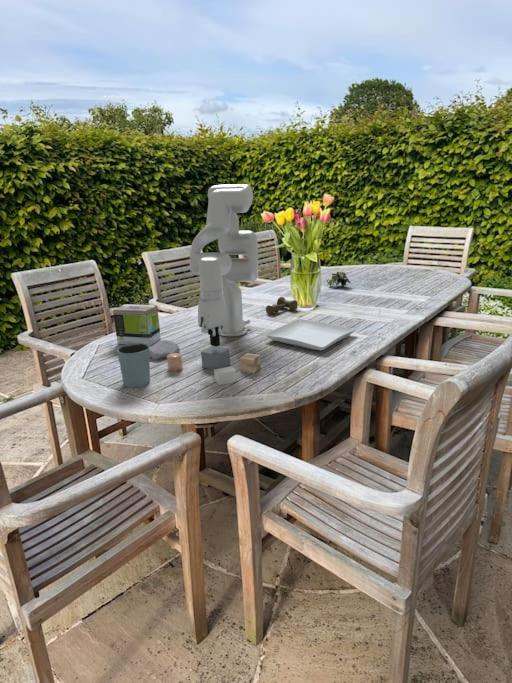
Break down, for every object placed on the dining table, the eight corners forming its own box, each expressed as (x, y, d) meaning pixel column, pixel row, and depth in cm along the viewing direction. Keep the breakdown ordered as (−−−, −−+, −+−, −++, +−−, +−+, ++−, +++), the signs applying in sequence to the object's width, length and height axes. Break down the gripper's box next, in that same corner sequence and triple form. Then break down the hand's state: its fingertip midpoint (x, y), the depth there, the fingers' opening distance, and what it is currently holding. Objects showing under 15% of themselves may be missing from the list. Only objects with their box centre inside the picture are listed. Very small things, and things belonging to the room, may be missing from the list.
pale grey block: (231, 377, 154) (231, 366, 152) (236, 381, 150) (235, 370, 149) (214, 380, 151) (214, 369, 150) (218, 385, 148) (218, 373, 147)
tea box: (161, 338, 193) (158, 304, 188) (150, 347, 184) (146, 311, 179) (129, 336, 197) (125, 302, 192) (116, 344, 187) (111, 309, 183)
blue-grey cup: (115, 387, 148) (111, 352, 144) (129, 375, 157) (125, 341, 153) (145, 389, 146) (141, 354, 142) (157, 376, 155) (154, 343, 151)
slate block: (214, 360, 168) (213, 345, 166) (230, 364, 164) (229, 348, 162) (202, 367, 162) (201, 351, 160) (218, 371, 159) (217, 355, 157)
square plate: (323, 356, 170) (323, 346, 169) (263, 342, 186) (263, 333, 185) (355, 336, 190) (356, 327, 189) (299, 325, 206) (299, 317, 205)
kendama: (261, 314, 225) (288, 305, 238) (276, 318, 219) (302, 308, 232) (261, 302, 223) (288, 293, 236) (276, 306, 216) (303, 297, 230)
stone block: (182, 356, 178) (165, 346, 183) (183, 345, 175) (165, 336, 181) (158, 367, 169) (141, 356, 174) (158, 356, 167) (141, 345, 172)
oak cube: (247, 366, 162) (247, 352, 161) (260, 368, 160) (259, 355, 158) (240, 371, 158) (240, 357, 156) (253, 373, 156) (253, 359, 154)
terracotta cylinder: (176, 365, 165) (175, 352, 163) (185, 368, 162) (184, 355, 160) (165, 369, 161) (163, 356, 160) (174, 372, 158) (173, 359, 156)
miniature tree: (342, 295, 277) (354, 279, 272) (334, 295, 268) (347, 279, 263) (329, 282, 281) (341, 267, 276) (321, 283, 272) (333, 267, 267)
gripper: (220, 288, 162) (223, 337, 169) (187, 297, 152) (191, 349, 159) (235, 291, 158) (237, 341, 164) (202, 301, 147) (206, 354, 154)
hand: (215, 345), depth 161 cm, fingers closed
